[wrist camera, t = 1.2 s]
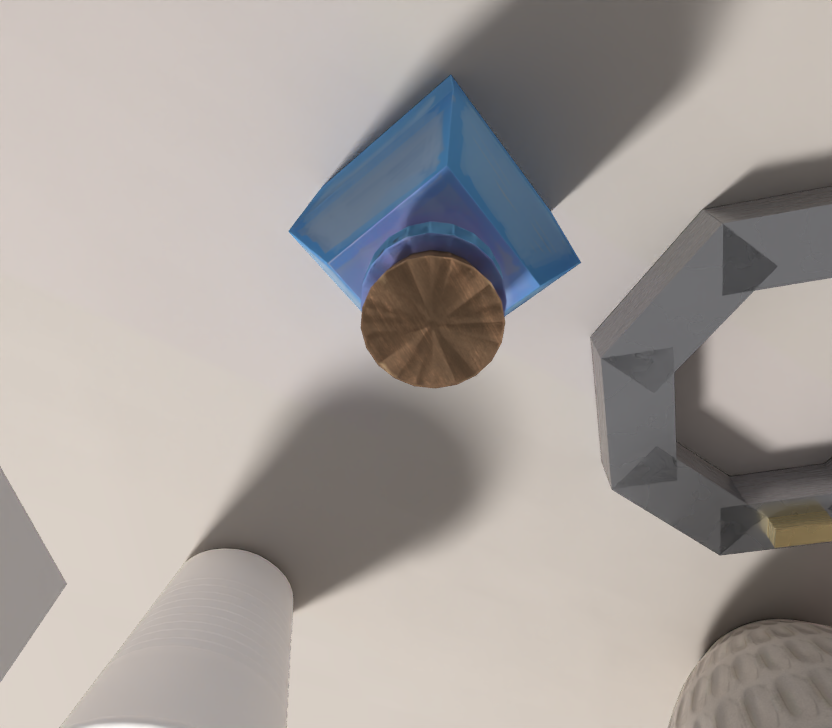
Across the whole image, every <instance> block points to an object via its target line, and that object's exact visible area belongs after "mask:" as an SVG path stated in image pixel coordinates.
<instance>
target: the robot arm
mask: <svg viewBox="0 0 832 728" xmlns="http://www.w3.org/2000/svg"><path fill="white" fill-rule="evenodd" d="M66 585H67V583H66V581H65V580H64V578H63V576H62V574H61V573H60V571H59V569H58V567H57V565H56V564H55V562H54V560H53V558H52V557H51V555H50V553H49V551H48V550H47V548H46V546H45V544H44V543H43V541H42V539H41V537H40V536H39V534H38V532H37V530H36V529H35V527H34V525H33V523H32V521H31V520H30V518H29V516H28V514H27V513H26V511H25V509H24V507H23V506H22V504H21V502H20V500H19V499H18V497H17V495H16V493H15V492H14V490H13V488H12V486H11V484H10V483H9V481H8V479H7V477H6V476H5V474H4V472H3V470H2V469H1V467H0V682H1V681H2V679H3V678H4V676H5V675H6V673H7V672H8V670H9V669H10V667H11V666H12V664H13V663H14V661H15V660H16V659H17V657H18V656H19V654H20V653H21V651H22V650H23V648H24V647H25V645H26V644H27V642H28V641H29V639H30V638H31V636H32V635H33V633H34V632H35V630H36V629H37V628H38V626H39V625H40V623H41V622H42V620H43V619H44V617H45V616H46V614H47V613H48V611H49V610H50V608H51V607H52V605H53V604H54V602H55V601H56V599H57V598H58V596H59V595H60V594H61V592H62V591H63V589H64V588H65V586H66Z"/></svg>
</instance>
